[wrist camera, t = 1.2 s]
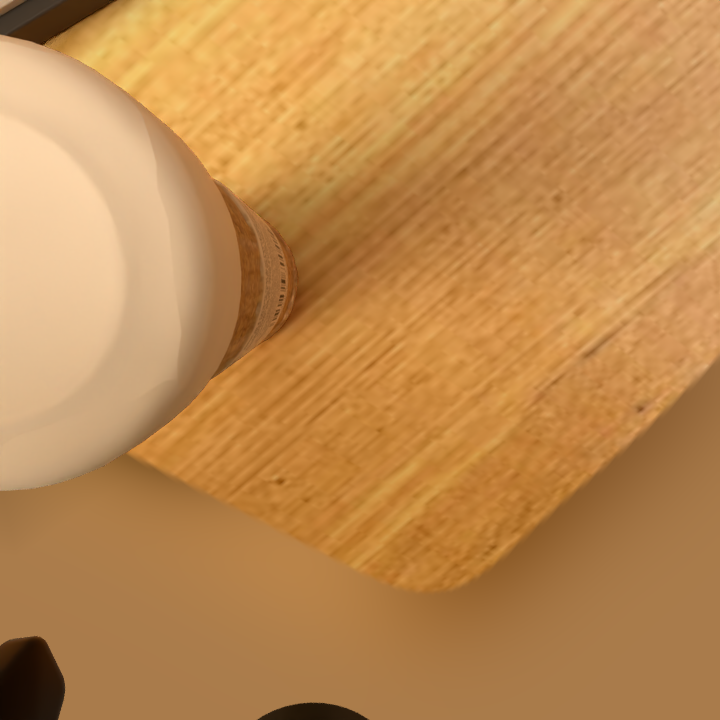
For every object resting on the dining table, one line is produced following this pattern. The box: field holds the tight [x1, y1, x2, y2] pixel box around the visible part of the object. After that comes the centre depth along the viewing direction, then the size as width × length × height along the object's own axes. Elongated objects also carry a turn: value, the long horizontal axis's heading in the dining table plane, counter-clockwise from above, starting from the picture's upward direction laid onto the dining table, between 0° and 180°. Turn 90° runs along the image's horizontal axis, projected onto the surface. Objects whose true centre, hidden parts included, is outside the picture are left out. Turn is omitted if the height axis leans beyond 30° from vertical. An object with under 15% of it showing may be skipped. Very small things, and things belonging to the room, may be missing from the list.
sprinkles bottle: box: [0, 35, 298, 491], centre depth 12 cm, size 5×5×14 cm
